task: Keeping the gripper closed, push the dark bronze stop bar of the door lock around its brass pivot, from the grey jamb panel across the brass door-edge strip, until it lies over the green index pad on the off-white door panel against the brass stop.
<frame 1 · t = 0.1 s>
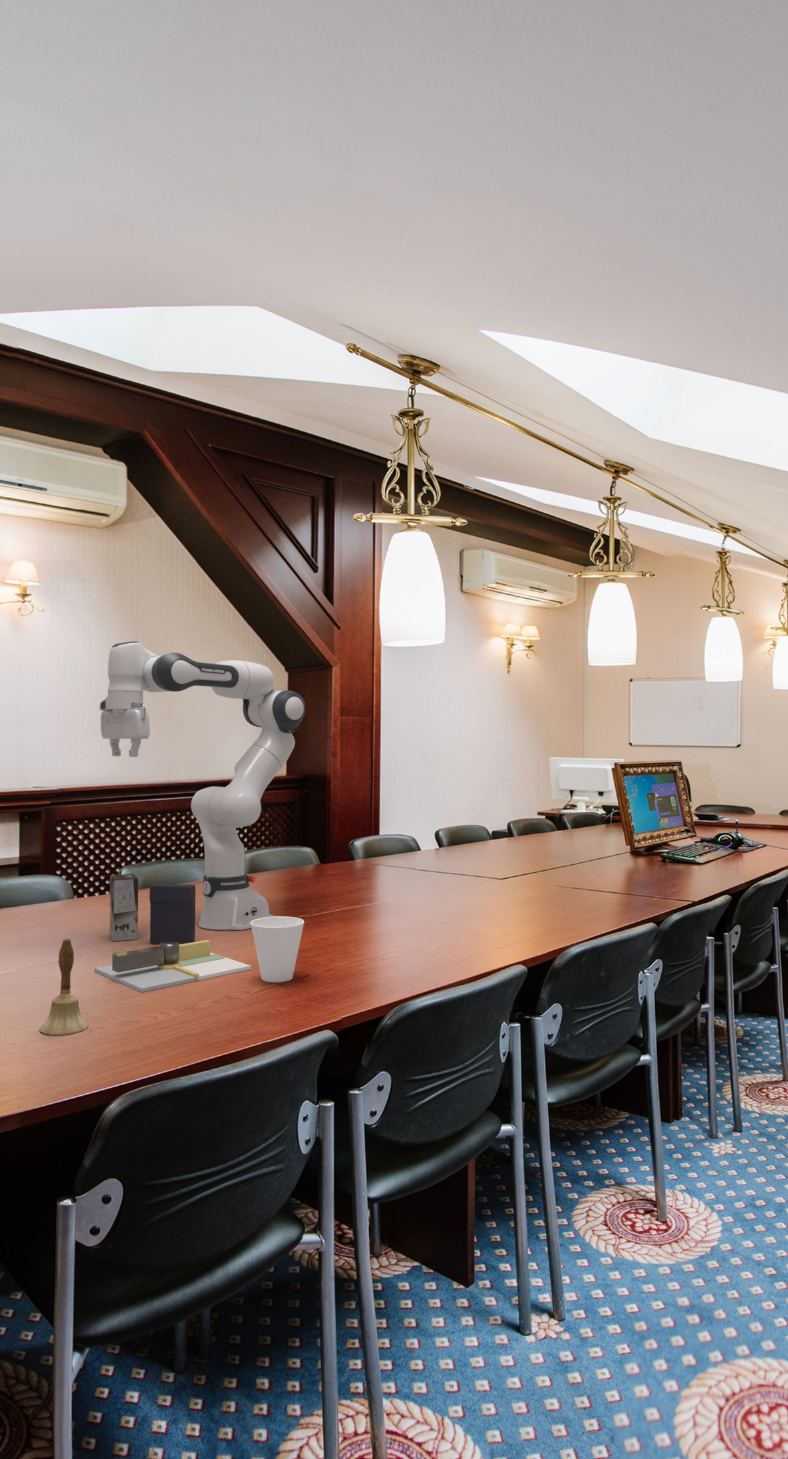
hand: (124, 756, 225), 48 cm above the table, tool pointing down, fingers open, 8 cm apart
cup: (276, 979, 191), on the table
hand bell: (64, 1029, 157), on the table
coffee box: (123, 938, 230), on the table
stop bar: (147, 956, 193), point 4 cm above the table, hinge at 0.0°
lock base: (169, 970, 197), on the table
dark blue box: (172, 944, 223), on the table
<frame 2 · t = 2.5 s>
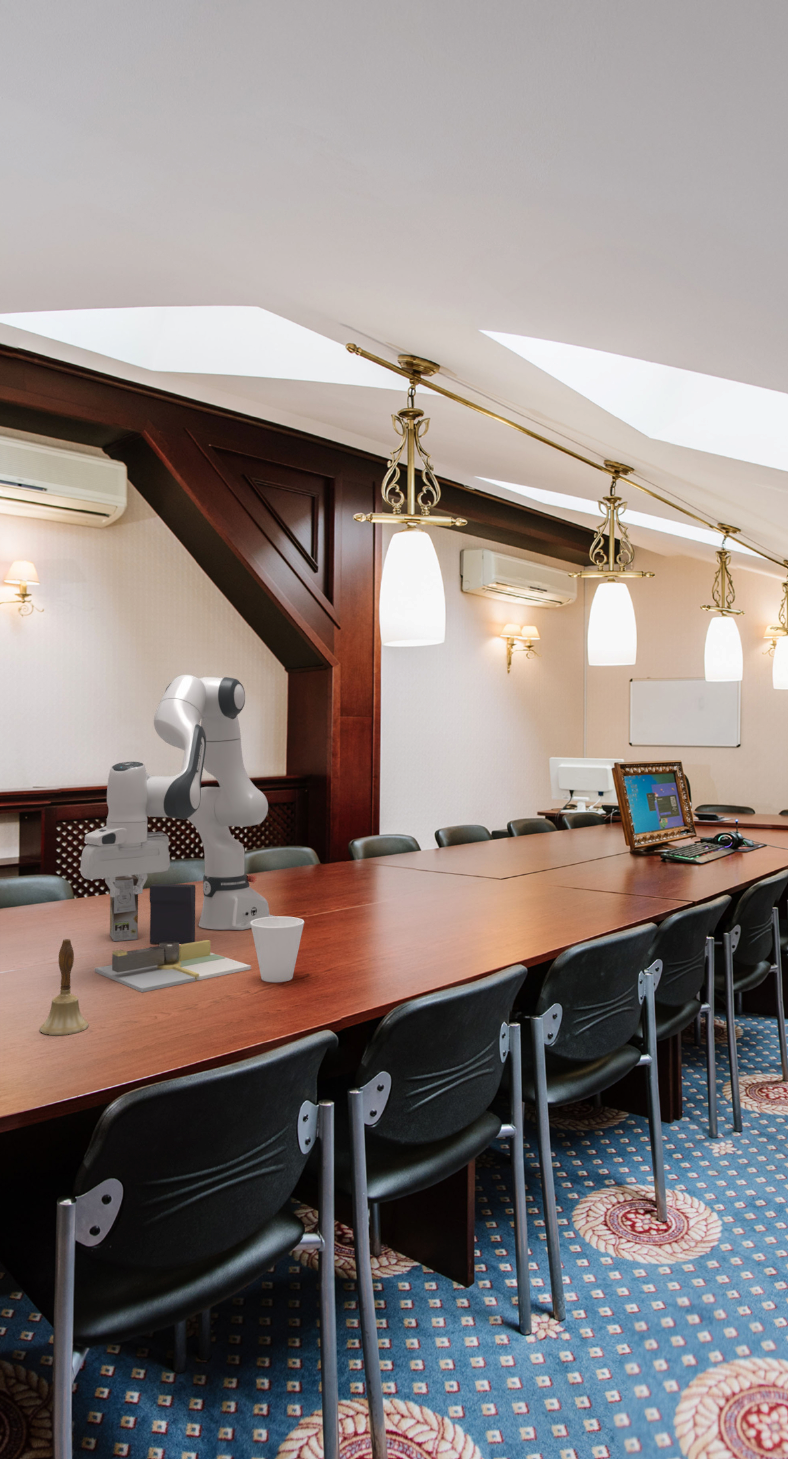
hand: (126, 895, 196), 17 cm above the table, tool pointing down, fingers open, 4 cm apart
nothing on the table moved.
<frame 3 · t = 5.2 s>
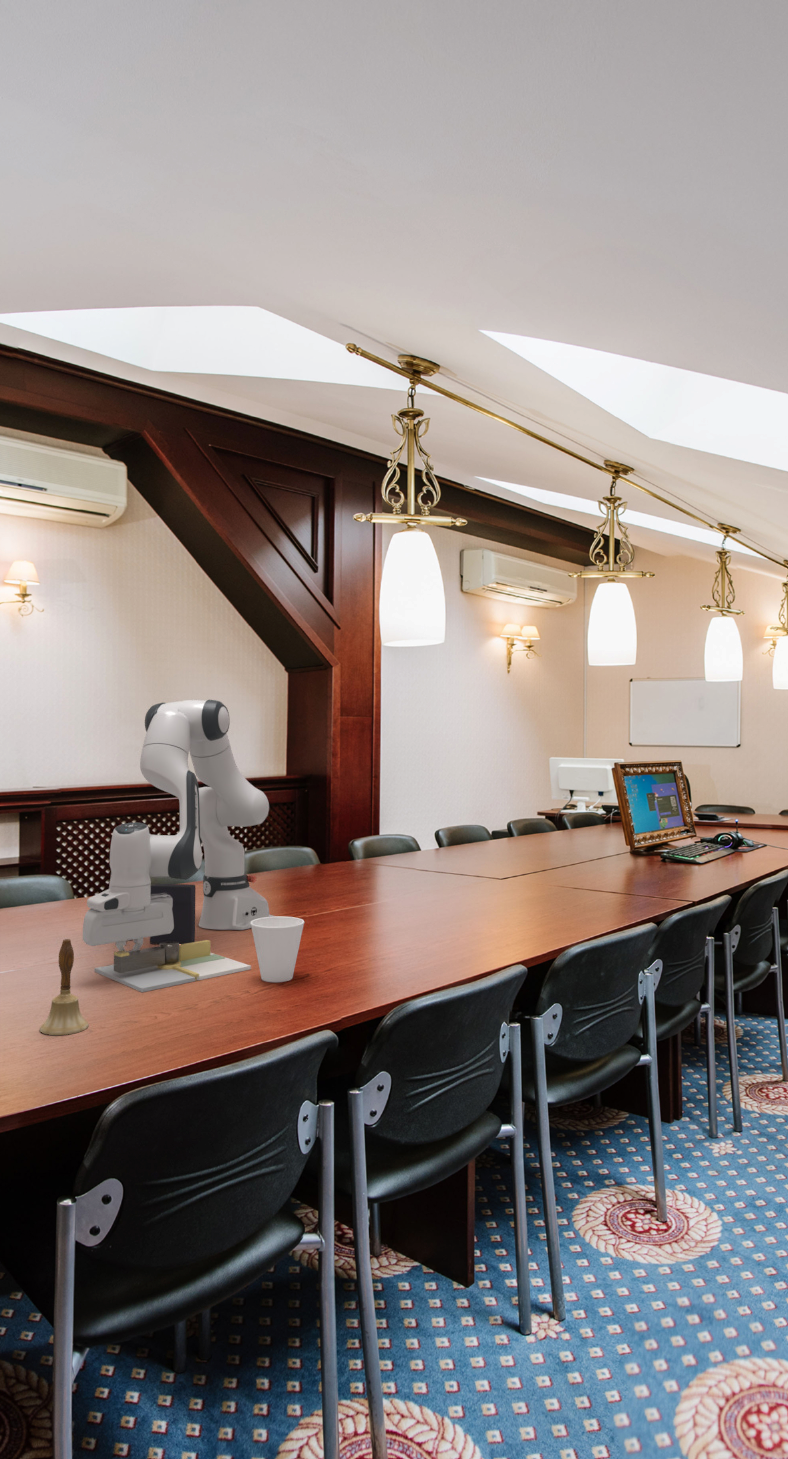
hand: (129, 959, 192), 4 cm above the table, tool pointing down, fingers closed
stop bar: (148, 956, 193), point 4 cm above the table, hinge at 3.9°, touching gripper
everything else where it was.
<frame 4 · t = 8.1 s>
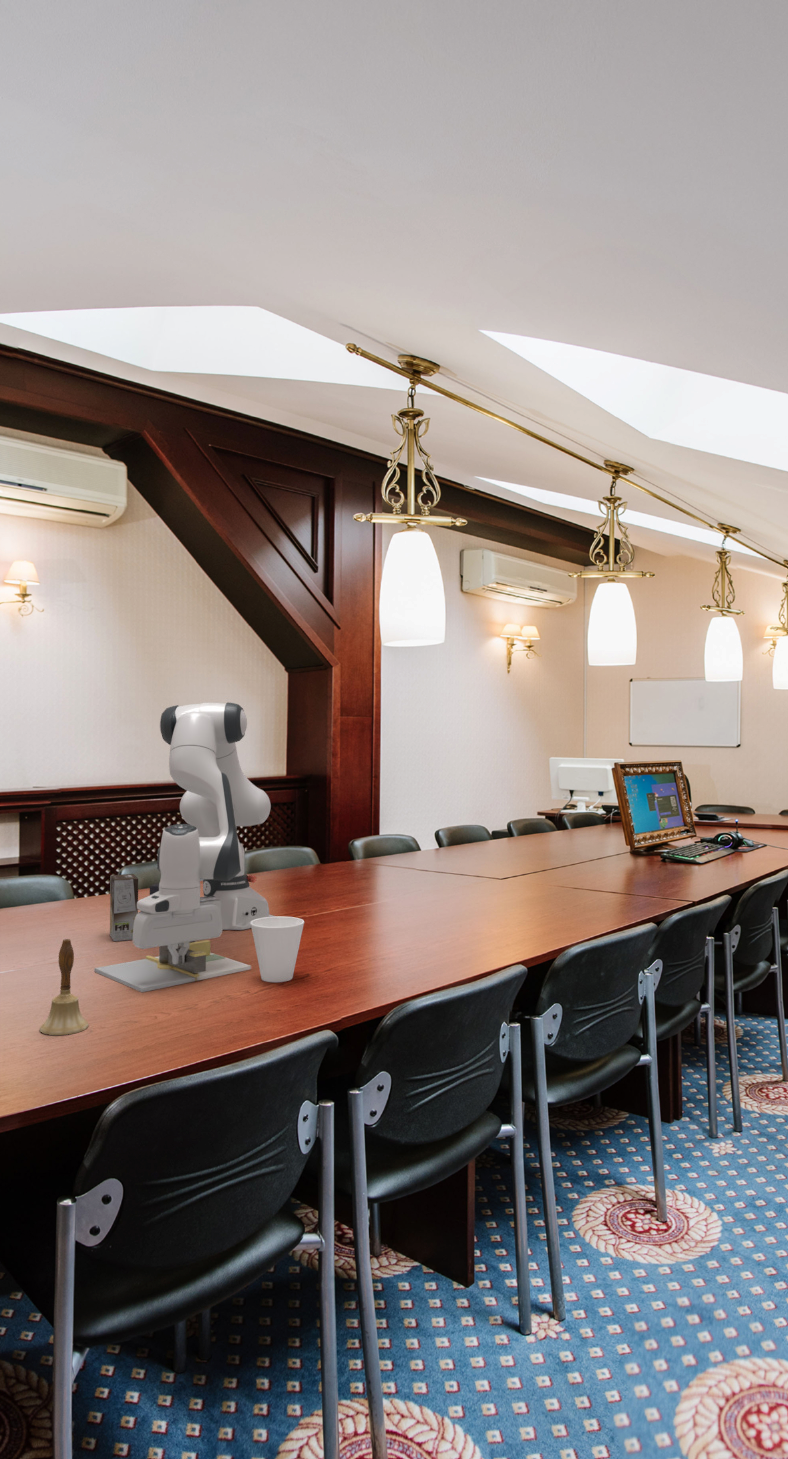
hand: (178, 963, 189), 3 cm above the table, tool pointing down, fingers closed
stop bar: (181, 956, 193), point 4 cm above the table, hinge at 90.6°, touching gripper
everything else where it was.
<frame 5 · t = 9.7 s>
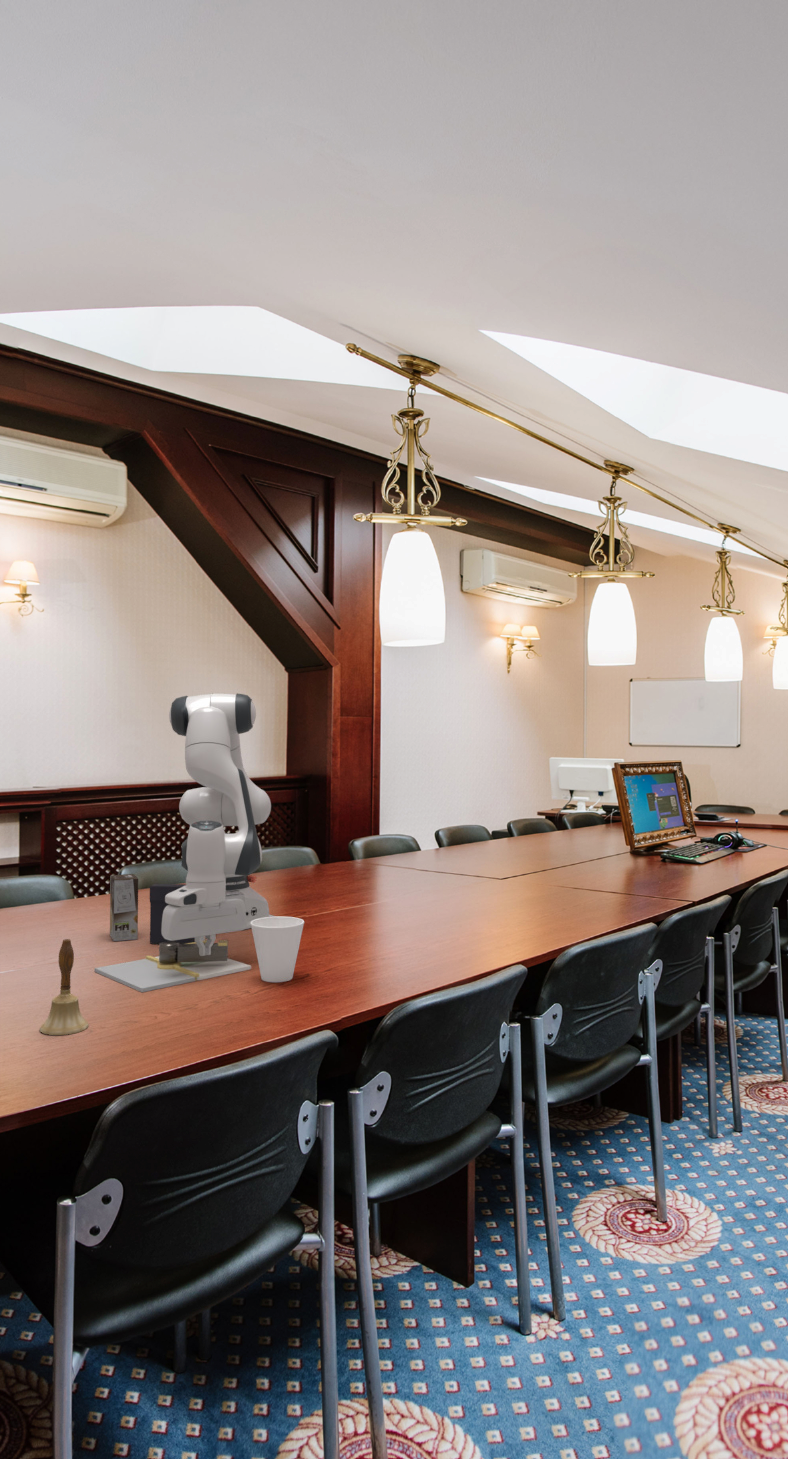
hand: (205, 955, 195), 4 cm above the table, tool pointing down, fingers closed
stop bar: (193, 951, 198), point 4 cm above the table, hinge at 144.3°, touching gripper
everything else where it was.
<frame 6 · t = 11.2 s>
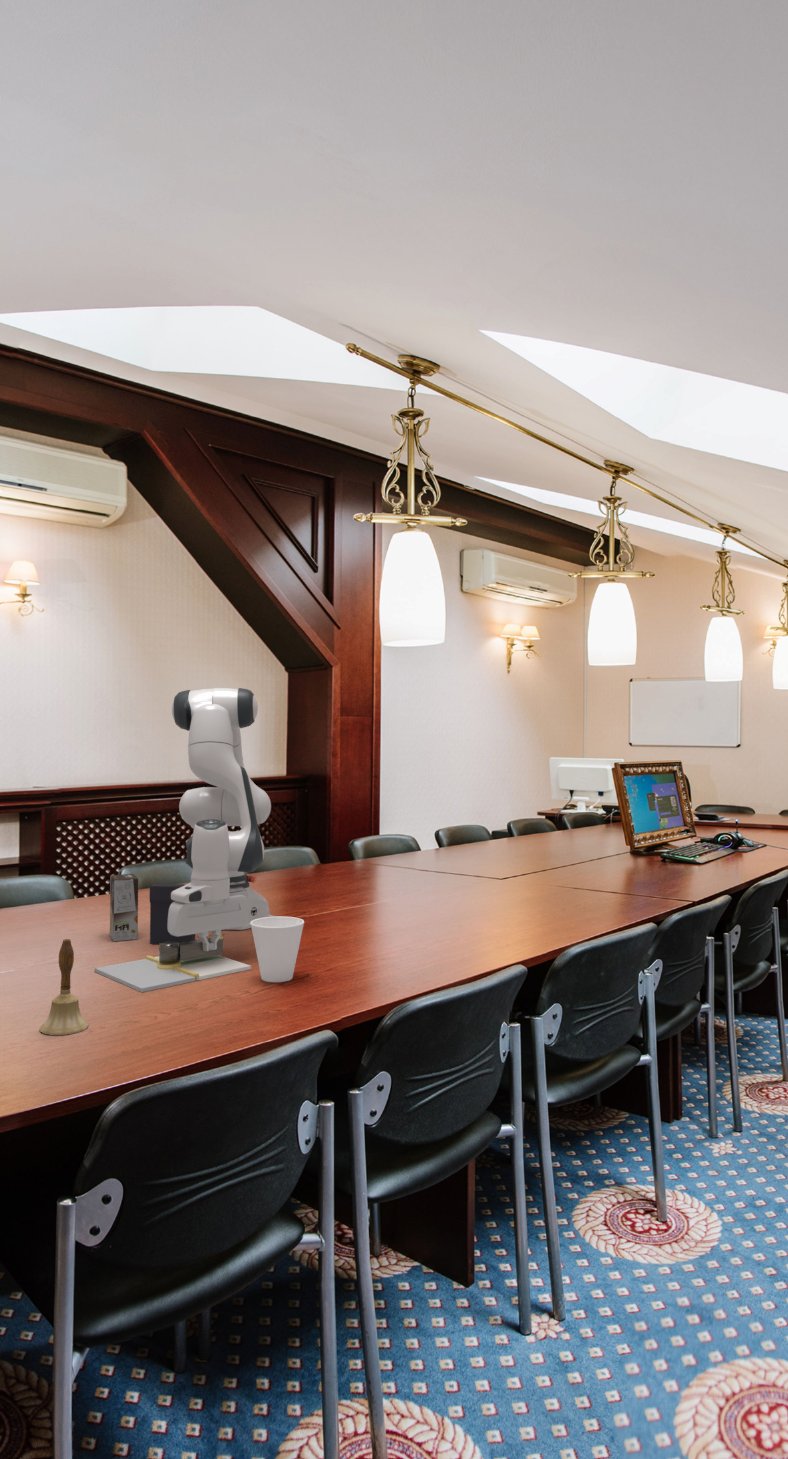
hand: (209, 950, 201), 4 cm above the table, tool pointing down, fingers closed
stop bar: (190, 948, 200), point 4 cm above the table, hinge at 176.2°, touching gripper
everything else where it was.
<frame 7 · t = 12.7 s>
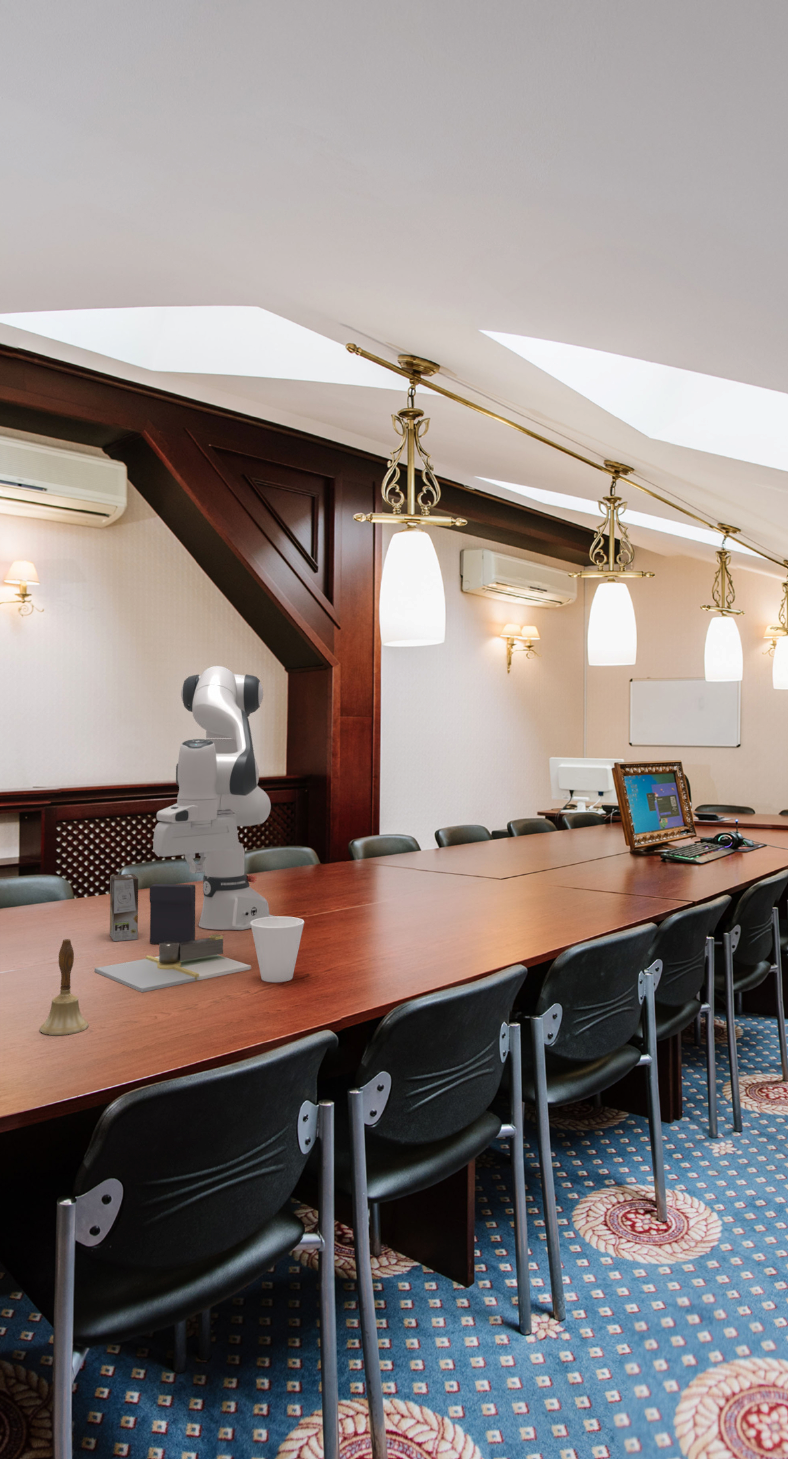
hand: (197, 872, 196), 22 cm above the table, tool pointing down, fingers closed
stop bar: (190, 948, 200), point 4 cm above the table, hinge at 176.7°
everything else where it was.
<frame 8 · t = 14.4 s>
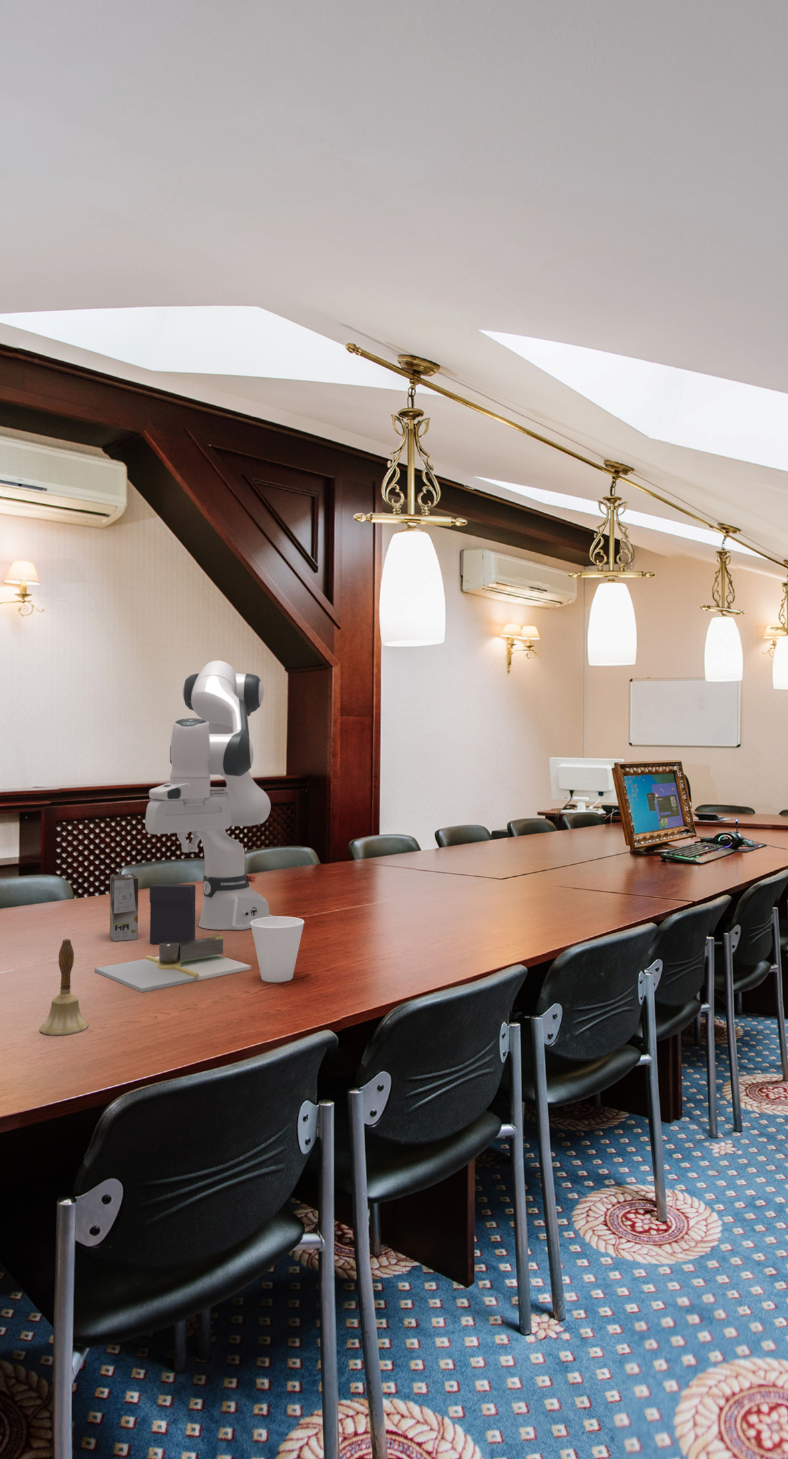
hand: (189, 851, 195), 27 cm above the table, tool pointing down, fingers closed
nothing on the table moved.
at the end: stop bar at +177° (first picture: +0°) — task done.
